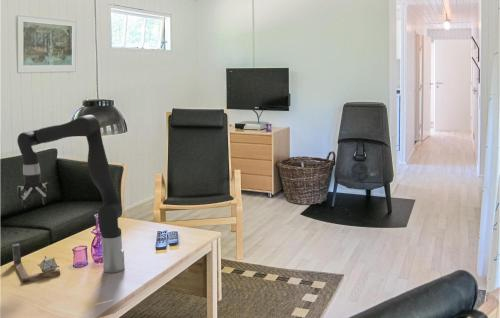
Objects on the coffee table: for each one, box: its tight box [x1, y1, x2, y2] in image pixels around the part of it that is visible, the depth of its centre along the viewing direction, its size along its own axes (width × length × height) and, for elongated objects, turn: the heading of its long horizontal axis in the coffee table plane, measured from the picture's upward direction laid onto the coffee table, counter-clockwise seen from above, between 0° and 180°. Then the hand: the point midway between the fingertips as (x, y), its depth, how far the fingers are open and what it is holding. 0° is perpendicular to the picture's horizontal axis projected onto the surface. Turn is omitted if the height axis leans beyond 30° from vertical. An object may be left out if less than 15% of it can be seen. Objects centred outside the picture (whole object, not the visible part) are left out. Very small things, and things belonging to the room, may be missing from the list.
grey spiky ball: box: [37, 255, 60, 273], centre depth 231 cm, size 9×8×10 cm
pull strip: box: [11, 242, 61, 284], centre depth 235 cm, size 16×26×10 cm, turn 34°
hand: (34, 205), depth 238 cm, fingers open, 8 cm apart
